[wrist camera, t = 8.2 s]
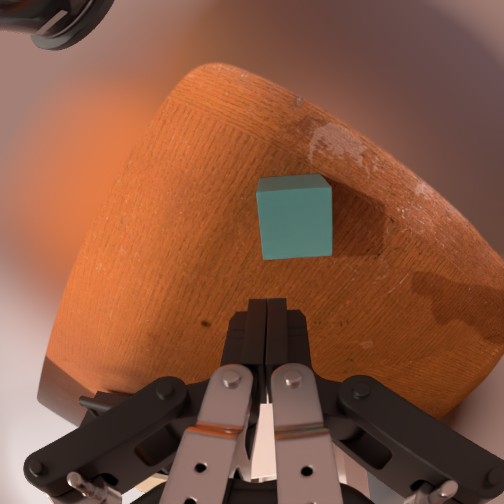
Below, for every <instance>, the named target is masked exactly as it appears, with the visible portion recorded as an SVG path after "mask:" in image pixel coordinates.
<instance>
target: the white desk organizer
mask: <svg viewBox="0 0 504 504" xmlns="http://www.w3.org/2000/svg"><path fill="white" fill-rule="evenodd" d="M332 444H333V449H334V454H335V460H336V465H337V471H338V476H339V482H341V483H344V484H347V485H349V486H351V487H354V488H355V489H357V490H358V491H360V492H361V493H363V494H364V495H365V496H366V497H368V498H369V499H370V497H369V487H368V480H367V472H366V469H364V468H363V467H362V466H361V465H359V464H358V463H357V462H356V461H354V460H353V459H352V458H351V457H349V456H348V455H347V454H346V453H345V452H343V451H342V450H341V449H340V448H339V447H337V446H336V445H335V444H334V443H333V442H332ZM255 478H259V483H260V482H265V481H270V480H275V479H277V476H276V458H275V440H274V423H273V407H272V404H269V401H268V394H267V404H260V416H259V424H258V430H257V436H256V442H255V448H254V453H253V459H252V473H251V479H255Z"/></svg>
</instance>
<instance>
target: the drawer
mask: <svg viewBox="0 0 504 504" xmlns="http://www.w3.org/2000/svg"><path fill="white" fill-rule="evenodd" d="M127 398H128V397H126V396H120V395H115V394H110V393H105V392H101V391H97V393H96V395H95V397H94V399H93V398H90V397H86V396H81V397H80V398H79V404H80V405H81V406H84V407H86V408H87V409H88V411H87V413H86V415H85V417H84V419H83V421H82V423H81V425H80V427H81V426H82V425H84V424H86V423H87V422H89V421H91V420H92V419H94V418H96V417H97V416H99V415H101V414H102V413H104V412H106V411H107V410H109V409H111V408H112V407H114V406H116V405H117V404H119V403H120V402H122V401H124V400H125V399H127ZM173 462H174V461H173ZM173 462H171V463H170V464H168V465H167V466H165V467H164V468H163V469H161V470H160V471H158V472H157V473H158V474H163V475H168V476H169V473H170V471H171V468H172V465H173Z"/></svg>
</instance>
